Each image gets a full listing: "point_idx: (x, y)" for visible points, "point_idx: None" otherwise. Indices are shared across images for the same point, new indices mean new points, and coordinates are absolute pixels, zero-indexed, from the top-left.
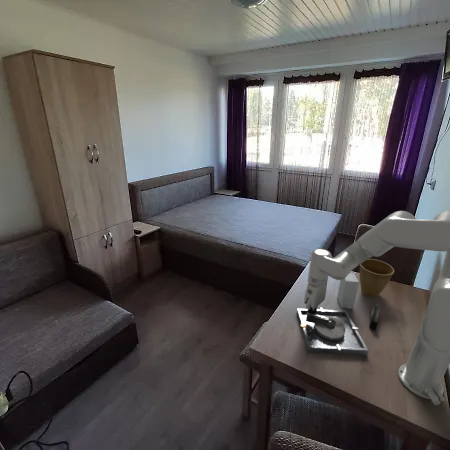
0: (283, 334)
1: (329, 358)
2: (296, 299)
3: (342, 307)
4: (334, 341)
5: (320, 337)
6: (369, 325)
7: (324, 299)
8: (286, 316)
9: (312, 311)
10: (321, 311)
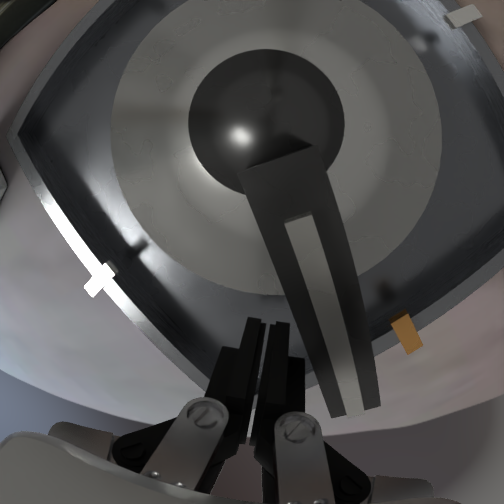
0: (458, 362)
1: None
2: (138, 400)
3: (3, 180)
4: None
5: None
6: (46, 1)
7: (29, 442)
8: (311, 409)
9: (299, 402)
10: (113, 276)
